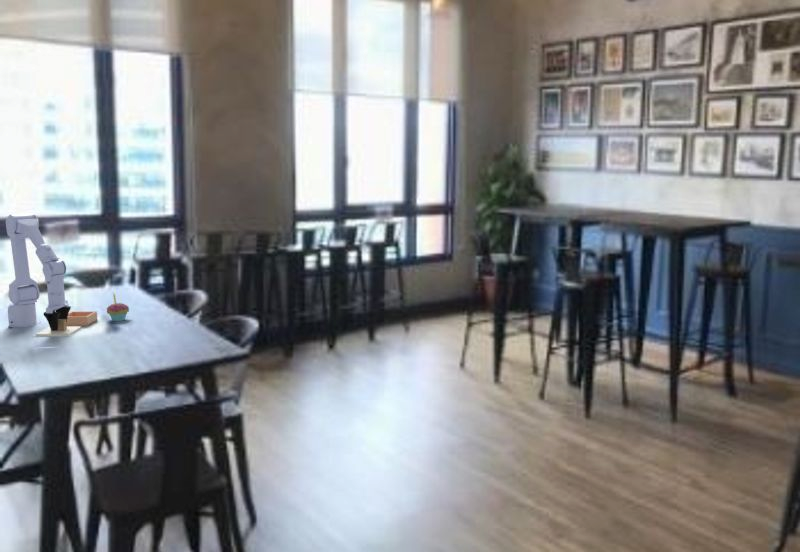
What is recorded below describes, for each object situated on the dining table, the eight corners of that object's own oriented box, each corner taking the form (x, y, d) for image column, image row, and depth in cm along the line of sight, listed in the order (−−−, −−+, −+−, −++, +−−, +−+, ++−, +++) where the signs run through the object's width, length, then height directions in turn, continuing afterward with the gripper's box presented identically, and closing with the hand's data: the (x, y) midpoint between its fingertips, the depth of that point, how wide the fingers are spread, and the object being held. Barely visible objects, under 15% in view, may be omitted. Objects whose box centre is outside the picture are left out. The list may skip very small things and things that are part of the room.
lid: (35, 336, 277) (34, 323, 276) (49, 328, 289) (48, 316, 288) (68, 336, 277) (67, 323, 277) (81, 328, 289) (80, 316, 288)
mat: (31, 337, 276) (31, 336, 276) (48, 328, 290) (48, 327, 290) (70, 337, 277) (70, 336, 276) (85, 328, 290) (84, 327, 290)
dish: (62, 327, 293) (61, 316, 292) (72, 321, 303) (71, 311, 302) (88, 326, 293) (87, 316, 293) (97, 321, 303) (96, 311, 302)
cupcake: (121, 323, 299) (120, 294, 297) (102, 322, 301) (100, 293, 299) (133, 318, 308) (131, 290, 306) (114, 317, 309) (113, 289, 307)
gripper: (58, 296, 274) (61, 332, 276) (74, 289, 288) (77, 323, 290) (39, 296, 273) (41, 332, 276) (56, 289, 288) (58, 323, 290)
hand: (58, 328), depth 283 cm, fingers open, 7 cm apart
